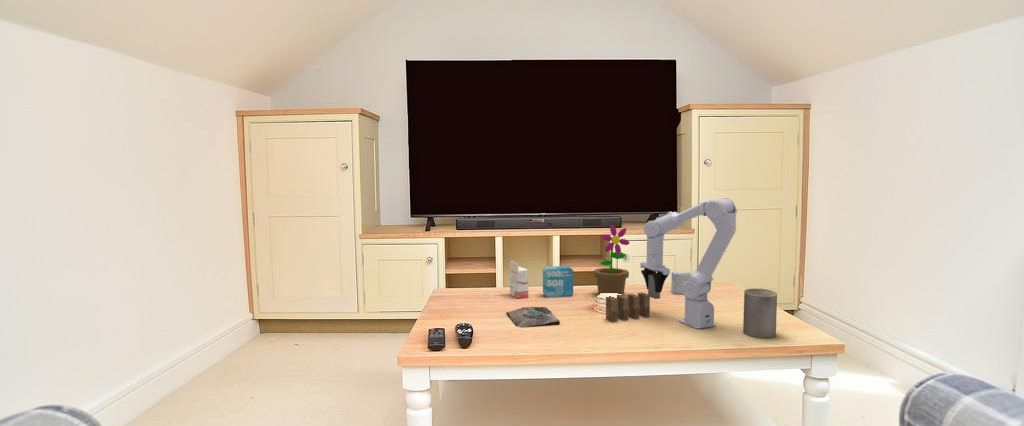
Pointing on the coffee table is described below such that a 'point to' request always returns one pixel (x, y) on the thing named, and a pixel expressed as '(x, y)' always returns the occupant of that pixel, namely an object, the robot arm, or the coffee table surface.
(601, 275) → the flowerpot
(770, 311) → the pillar candle
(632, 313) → the tile
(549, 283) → the data package
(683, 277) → the medicine box
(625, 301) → the tile
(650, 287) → the tile
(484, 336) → the coffee table surface
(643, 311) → the tile
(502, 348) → the coffee table surface
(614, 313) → the tile
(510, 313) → the terrain model
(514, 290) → the ink cartridge box
